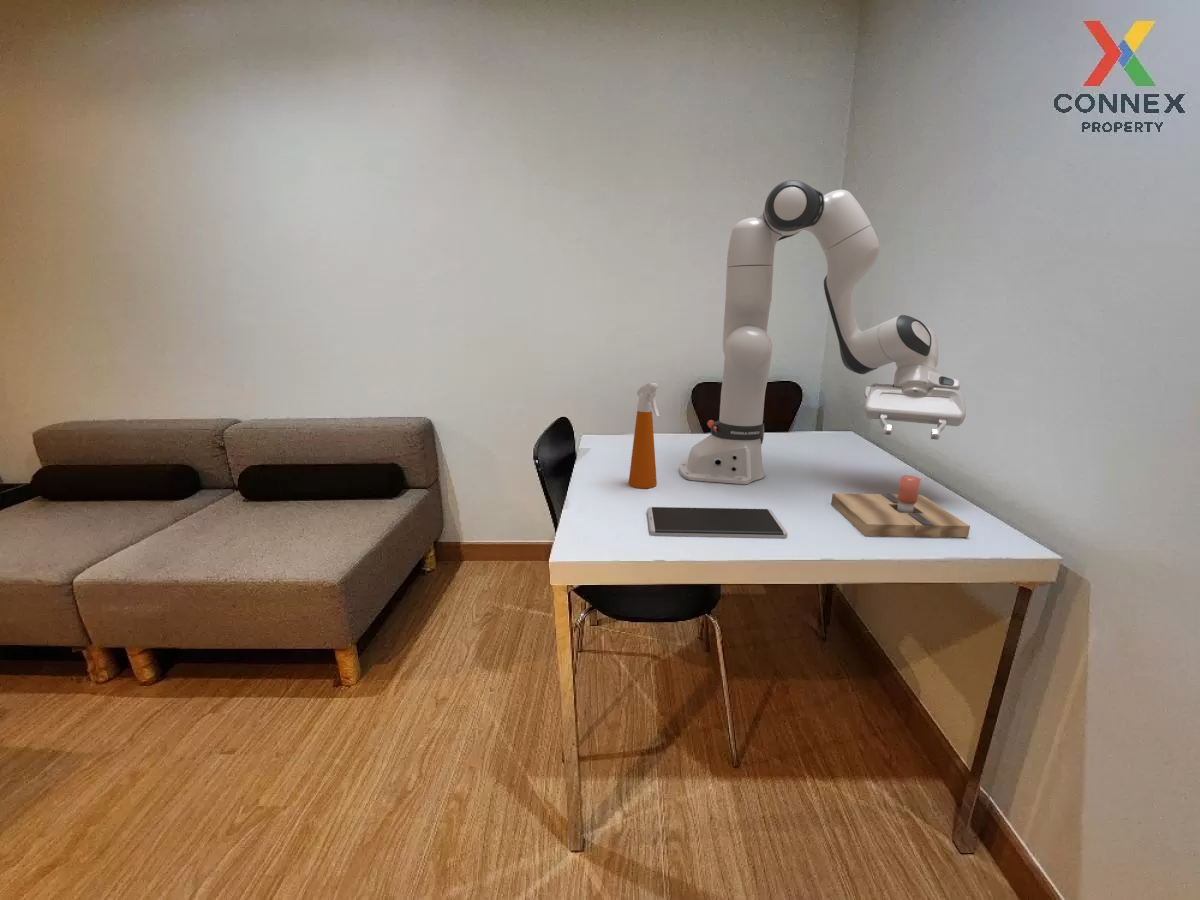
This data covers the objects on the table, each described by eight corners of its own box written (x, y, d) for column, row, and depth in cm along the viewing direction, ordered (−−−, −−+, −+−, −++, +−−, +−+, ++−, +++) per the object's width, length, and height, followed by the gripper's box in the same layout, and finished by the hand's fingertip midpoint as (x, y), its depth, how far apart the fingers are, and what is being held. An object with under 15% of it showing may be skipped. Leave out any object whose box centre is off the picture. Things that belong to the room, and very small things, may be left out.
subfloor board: (864, 536, 109) (866, 523, 109) (831, 503, 127) (832, 492, 126) (967, 537, 109) (970, 525, 108) (919, 505, 126) (921, 494, 125)
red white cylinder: (899, 521, 116) (906, 480, 114) (891, 514, 119) (897, 475, 117) (916, 521, 116) (923, 481, 113) (908, 515, 119) (914, 475, 117)
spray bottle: (642, 495, 132) (645, 385, 125) (624, 481, 141) (625, 379, 134) (668, 491, 134) (673, 383, 127) (648, 478, 144) (651, 377, 137)
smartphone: (788, 541, 108) (789, 532, 108) (650, 538, 109) (650, 530, 109) (770, 515, 121) (771, 508, 121) (646, 513, 122) (647, 505, 121)
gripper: (867, 375, 131) (861, 423, 125) (968, 381, 123) (967, 432, 117) (864, 391, 136) (858, 438, 130) (961, 397, 128) (960, 448, 122)
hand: (910, 435), depth 124 cm, fingers open, 8 cm apart
